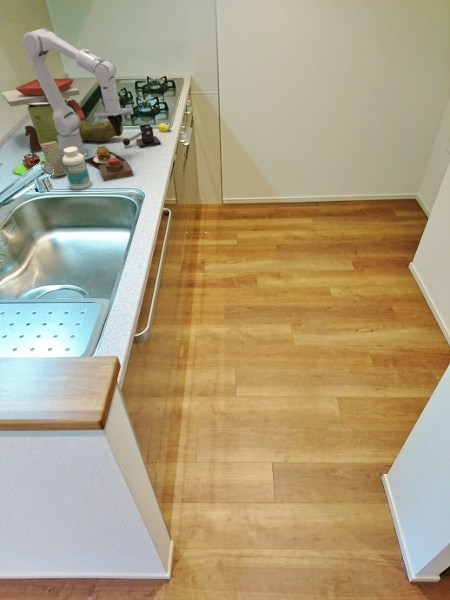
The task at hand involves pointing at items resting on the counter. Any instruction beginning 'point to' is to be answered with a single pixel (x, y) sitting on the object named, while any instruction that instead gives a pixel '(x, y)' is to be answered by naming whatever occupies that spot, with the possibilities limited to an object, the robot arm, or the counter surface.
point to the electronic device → (34, 96)
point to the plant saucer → (36, 88)
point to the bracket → (147, 137)
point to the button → (113, 161)
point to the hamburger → (102, 157)
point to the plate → (43, 103)
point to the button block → (115, 170)
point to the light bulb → (163, 127)
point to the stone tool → (97, 131)
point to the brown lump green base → (28, 163)
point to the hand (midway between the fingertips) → (118, 135)
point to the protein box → (44, 123)
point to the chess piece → (33, 138)
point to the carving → (54, 157)
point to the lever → (132, 138)
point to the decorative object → (76, 109)
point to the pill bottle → (76, 168)
